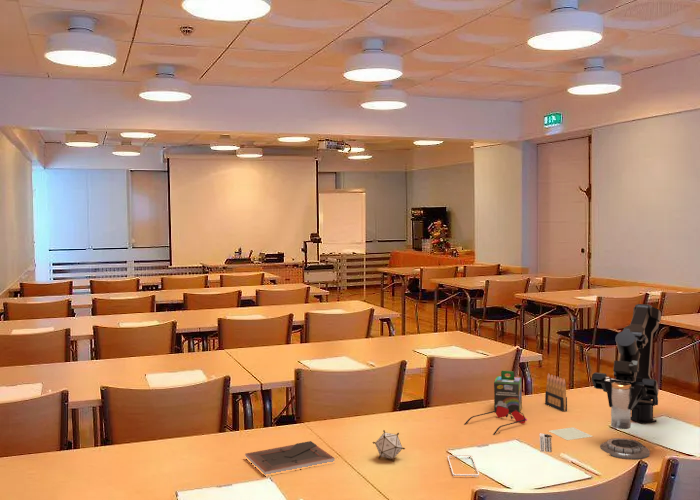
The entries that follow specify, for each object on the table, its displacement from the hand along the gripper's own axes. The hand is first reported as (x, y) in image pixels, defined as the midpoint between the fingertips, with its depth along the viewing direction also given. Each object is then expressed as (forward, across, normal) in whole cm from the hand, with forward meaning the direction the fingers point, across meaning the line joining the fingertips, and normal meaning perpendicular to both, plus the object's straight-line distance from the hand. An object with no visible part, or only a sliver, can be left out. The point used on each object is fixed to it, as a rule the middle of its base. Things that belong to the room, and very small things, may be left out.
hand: (620, 408), depth 209 cm
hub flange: (+9, +1, +10) cm, 13 cm away
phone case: (+36, -35, -16) cm, 53 cm away
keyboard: (+14, -20, +6) cm, 25 cm away
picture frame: (+51, -80, -32) cm, 101 cm away
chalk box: (-7, -44, +27) cm, 52 cm away
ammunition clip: (-16, -30, +35) cm, 49 cm away
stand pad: (+4, -17, +15) cm, 23 cm away
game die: (+39, -56, -20) cm, 71 cm away
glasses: (+7, -41, +13) cm, 44 cm away
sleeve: (+3, 0, +5) cm, 6 cm away
